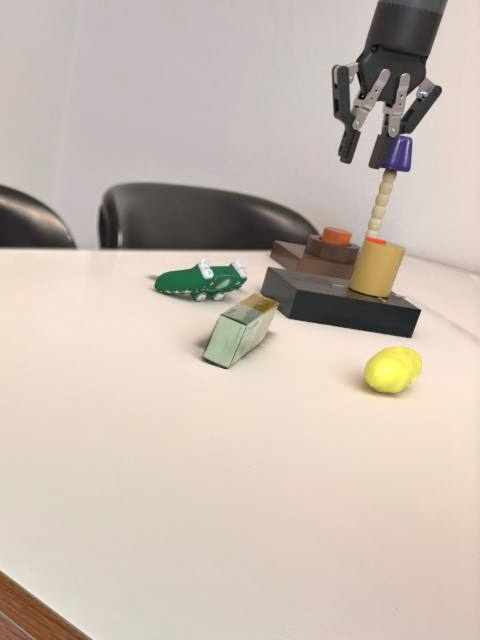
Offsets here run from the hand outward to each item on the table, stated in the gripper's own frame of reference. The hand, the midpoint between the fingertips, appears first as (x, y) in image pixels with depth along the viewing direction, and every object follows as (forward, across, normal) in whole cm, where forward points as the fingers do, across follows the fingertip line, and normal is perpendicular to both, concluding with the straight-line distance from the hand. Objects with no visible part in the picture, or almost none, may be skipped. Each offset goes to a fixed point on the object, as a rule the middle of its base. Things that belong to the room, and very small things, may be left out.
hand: (359, 164), depth 131 cm
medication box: (+13, -26, -46) cm, 55 cm away
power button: (+10, 0, 0) cm, 10 cm away
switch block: (+13, 0, 0) cm, 13 cm away
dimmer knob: (+10, -5, -24) cm, 26 cm away
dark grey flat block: (+13, -8, -24) cm, 29 cm away
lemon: (+13, -14, -51) cm, 54 cm away
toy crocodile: (+13, -24, -26) cm, 38 cm away
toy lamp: (+13, +9, +10) cm, 19 cm away
